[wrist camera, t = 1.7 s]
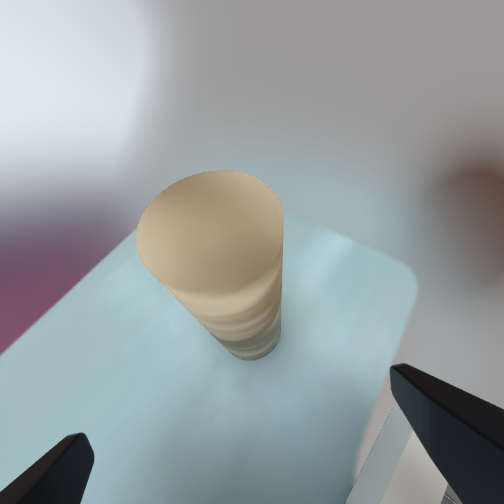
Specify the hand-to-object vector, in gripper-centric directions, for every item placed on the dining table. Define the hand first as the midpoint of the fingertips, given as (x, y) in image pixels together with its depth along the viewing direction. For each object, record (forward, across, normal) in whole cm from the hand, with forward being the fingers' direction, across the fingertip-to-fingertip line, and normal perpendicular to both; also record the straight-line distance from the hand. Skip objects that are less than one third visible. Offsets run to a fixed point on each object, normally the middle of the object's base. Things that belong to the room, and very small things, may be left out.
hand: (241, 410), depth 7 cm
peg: (+12, 0, +5) cm, 13 cm away
